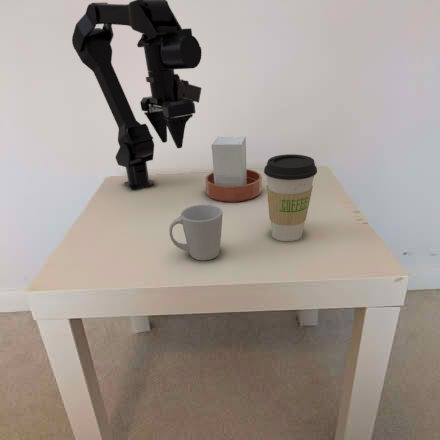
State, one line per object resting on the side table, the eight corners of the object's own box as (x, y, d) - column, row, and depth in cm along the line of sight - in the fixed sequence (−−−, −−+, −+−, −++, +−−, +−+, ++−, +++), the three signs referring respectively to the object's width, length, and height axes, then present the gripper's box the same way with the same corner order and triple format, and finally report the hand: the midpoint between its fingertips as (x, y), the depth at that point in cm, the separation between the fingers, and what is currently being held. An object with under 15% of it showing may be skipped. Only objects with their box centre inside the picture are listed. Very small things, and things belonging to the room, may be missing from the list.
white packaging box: (247, 186, 105) (247, 136, 98) (242, 196, 99) (242, 144, 92) (220, 185, 106) (217, 136, 99) (213, 195, 100) (211, 143, 93)
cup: (228, 260, 74) (226, 218, 69) (174, 268, 73) (169, 225, 68) (220, 242, 80) (218, 202, 75) (170, 248, 79) (165, 208, 74)
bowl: (196, 190, 105) (195, 175, 103) (242, 179, 111) (241, 165, 109) (224, 207, 95) (223, 191, 93) (272, 194, 101) (273, 178, 98)
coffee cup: (306, 248, 77) (313, 170, 68) (257, 242, 80) (257, 167, 71) (314, 227, 84) (321, 154, 76) (269, 222, 87) (271, 152, 79)
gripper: (213, 65, 82) (220, 144, 90) (177, 66, 96) (186, 134, 105) (163, 72, 78) (175, 154, 86) (134, 71, 92) (146, 141, 101)
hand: (171, 145), depth 94 cm, fingers open, 9 cm apart
